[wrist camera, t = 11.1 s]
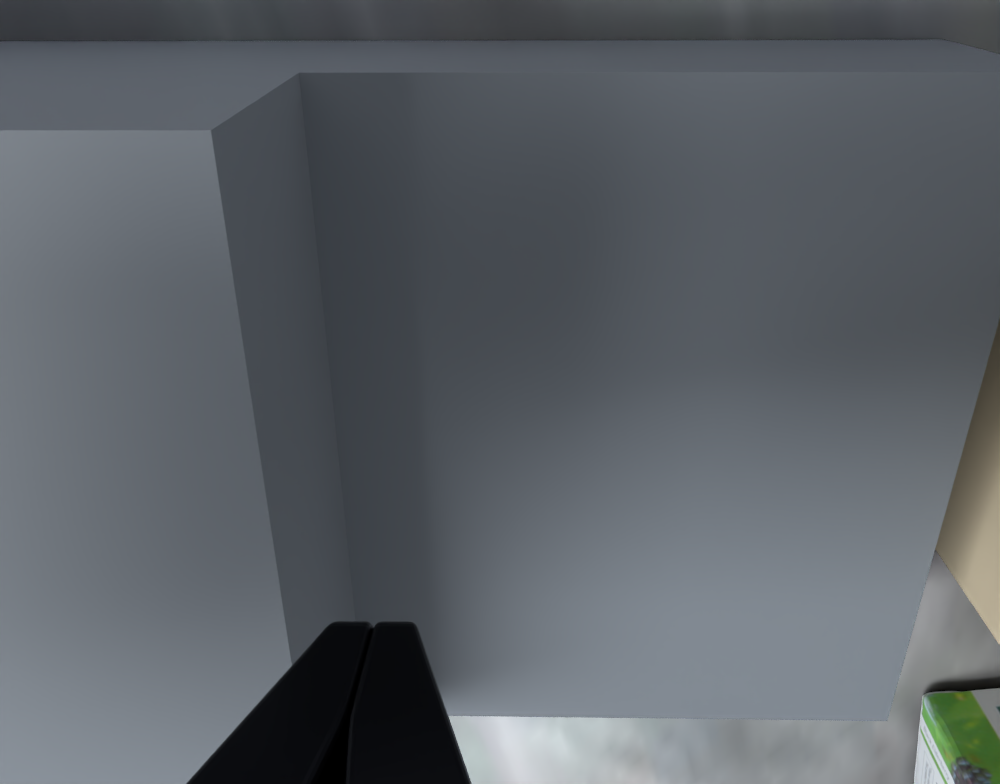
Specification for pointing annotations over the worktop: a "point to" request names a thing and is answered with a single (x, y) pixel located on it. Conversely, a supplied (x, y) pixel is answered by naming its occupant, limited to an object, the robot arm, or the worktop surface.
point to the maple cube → (978, 503)
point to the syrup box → (959, 738)
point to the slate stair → (478, 374)
